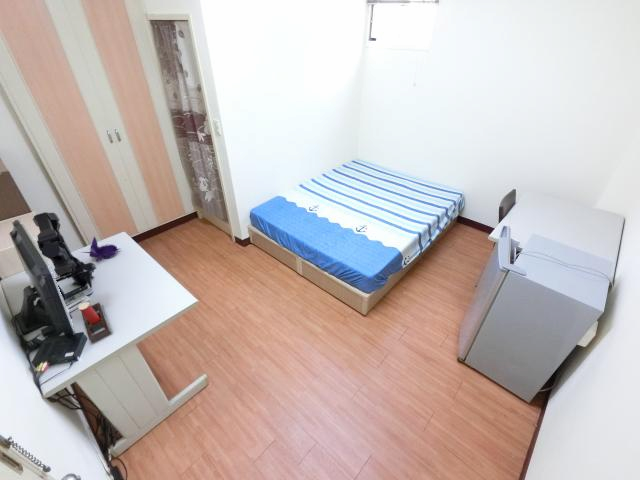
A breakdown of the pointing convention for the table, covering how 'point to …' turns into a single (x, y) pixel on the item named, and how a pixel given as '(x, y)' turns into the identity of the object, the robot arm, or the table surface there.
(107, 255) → the creature
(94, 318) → the red cylinder
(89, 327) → the brown wooden rack
